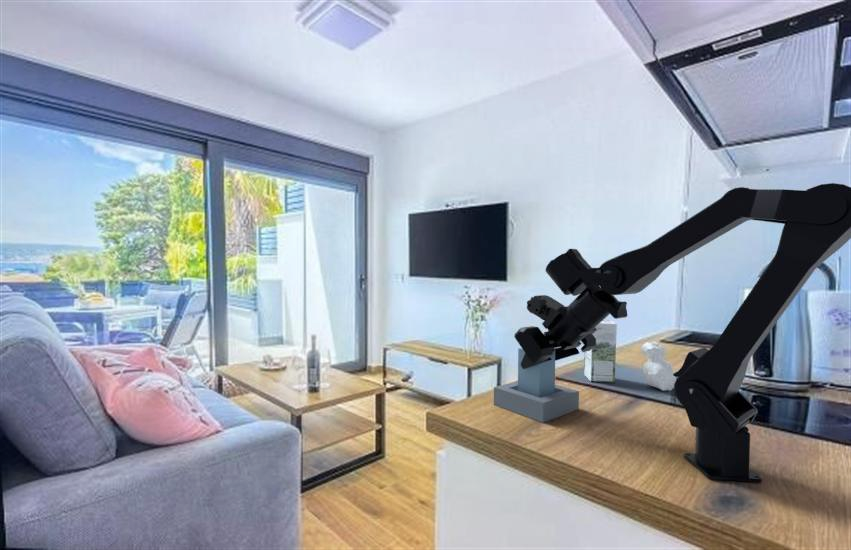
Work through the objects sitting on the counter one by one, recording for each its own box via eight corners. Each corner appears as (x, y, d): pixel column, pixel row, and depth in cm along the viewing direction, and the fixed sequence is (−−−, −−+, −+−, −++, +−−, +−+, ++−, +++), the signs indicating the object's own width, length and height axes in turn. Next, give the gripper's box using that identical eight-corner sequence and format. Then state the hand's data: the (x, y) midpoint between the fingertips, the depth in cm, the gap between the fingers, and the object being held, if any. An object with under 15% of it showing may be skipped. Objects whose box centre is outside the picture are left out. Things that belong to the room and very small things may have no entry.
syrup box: (607, 376, 102) (608, 319, 101) (615, 383, 96) (617, 322, 95) (583, 375, 102) (584, 318, 102) (590, 382, 96) (592, 322, 96)
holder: (578, 409, 78) (579, 391, 78) (542, 422, 71) (543, 403, 71) (529, 393, 87) (530, 377, 87) (493, 404, 80) (493, 387, 80)
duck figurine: (662, 389, 99) (632, 349, 103) (692, 375, 95) (659, 334, 99) (652, 402, 89) (619, 357, 93) (684, 386, 85) (649, 340, 90)
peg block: (554, 400, 78) (555, 349, 78) (538, 406, 75) (539, 352, 75) (533, 394, 82) (534, 345, 82) (517, 399, 79) (518, 348, 79)
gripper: (582, 280, 81) (536, 328, 90) (523, 282, 70) (477, 337, 78) (621, 324, 75) (567, 371, 84) (563, 333, 64) (508, 386, 72)
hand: (530, 364), depth 80 cm, fingers closed on peg block, 5 cm apart
